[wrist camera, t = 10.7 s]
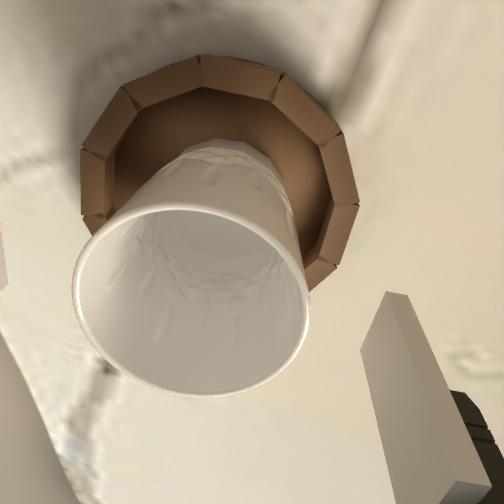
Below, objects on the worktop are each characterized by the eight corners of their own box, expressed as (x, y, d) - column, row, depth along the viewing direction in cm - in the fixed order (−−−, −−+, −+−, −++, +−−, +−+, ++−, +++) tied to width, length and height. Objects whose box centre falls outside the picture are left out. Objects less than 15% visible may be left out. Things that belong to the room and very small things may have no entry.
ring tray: (97, 27, 20) (78, 27, 18) (386, 90, 20) (398, 97, 18) (95, 275, 26) (81, 295, 24) (311, 316, 27) (314, 338, 25)
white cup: (128, 217, 23) (38, 335, 15) (196, 92, 20) (131, 149, 11) (246, 284, 25) (230, 426, 16) (328, 180, 22) (362, 289, 13)
